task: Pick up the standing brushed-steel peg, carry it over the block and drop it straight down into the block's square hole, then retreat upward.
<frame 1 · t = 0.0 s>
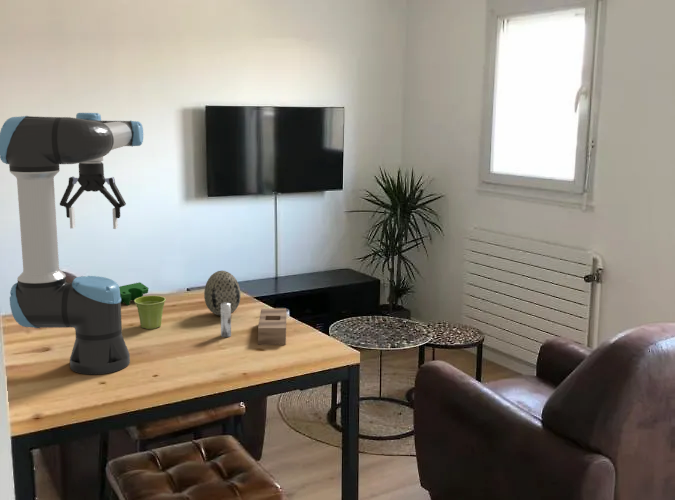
hand: (94, 228, 234), 28 cm above the table, fingers open, 13 cm apart
steel peg: (226, 335, 218), on the table
decorative egg: (222, 315, 239), on the table
plant pot: (151, 327, 226), on the table
clamp: (130, 303, 251), on the table
hole block: (272, 333, 221), on the table
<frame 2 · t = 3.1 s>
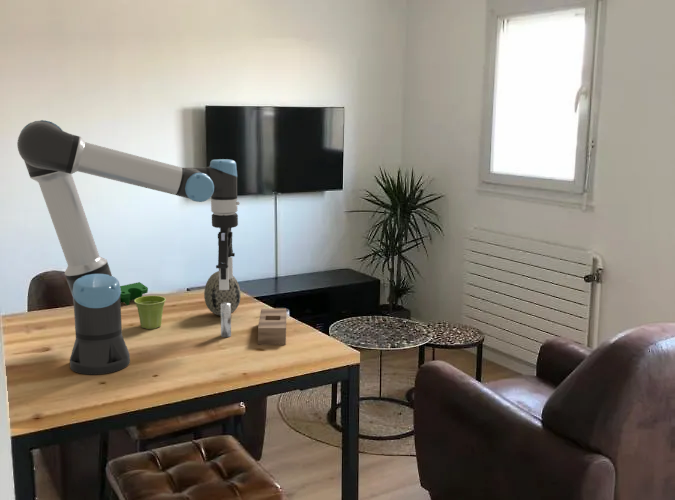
hand: (226, 283, 215), 16 cm above the table, fingers open, 13 cm apart
nothing on the table moved.
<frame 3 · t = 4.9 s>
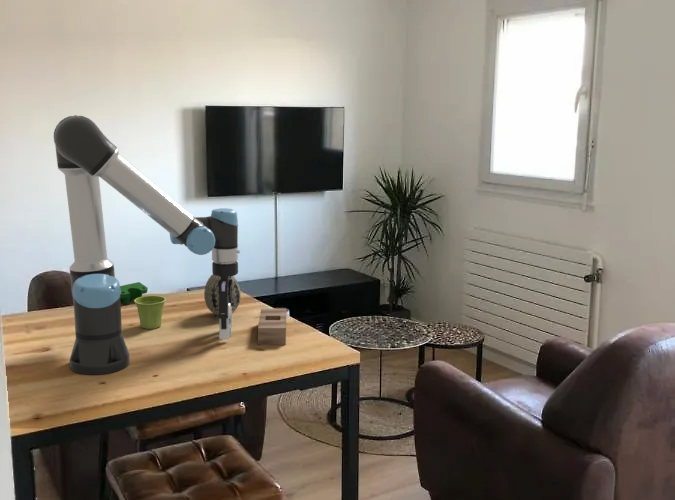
hand: (226, 332, 218), 1 cm above the table, fingers open, 10 cm apart
nothing on the table moved.
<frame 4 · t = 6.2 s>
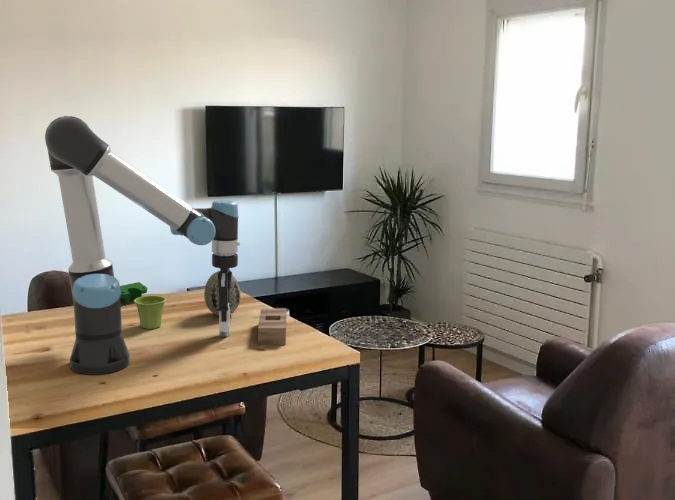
hand: (224, 329, 218), 2 cm above the table, fingers closed on steel peg, 2 cm apart
steel peg: (224, 335, 218), on the table, touching gripper
everything else where it was.
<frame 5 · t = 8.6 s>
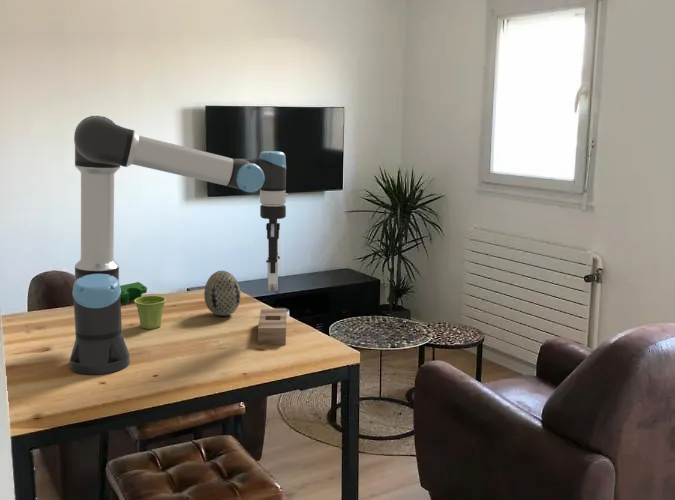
hand: (273, 281, 218), 16 cm above the table, fingers closed on steel peg, 2 cm apart
steel peg: (272, 290, 218), point 14 cm above the table, touching gripper
everything else where it was.
when the fingers open (7 cm above the table, at t = 10.9 s): steel peg drops 4 cm, resting in hole block.
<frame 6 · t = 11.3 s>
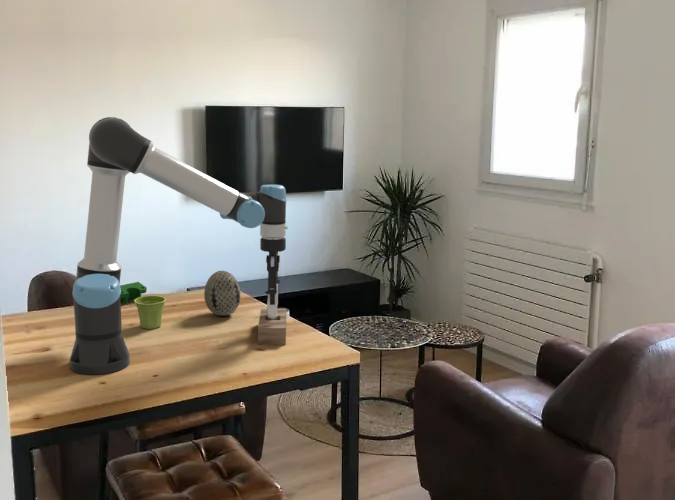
hand: (272, 309, 220), 8 cm above the table, fingers open, 10 cm apart
steel peg: (272, 333, 221), resting in hole block
everything else where it was.
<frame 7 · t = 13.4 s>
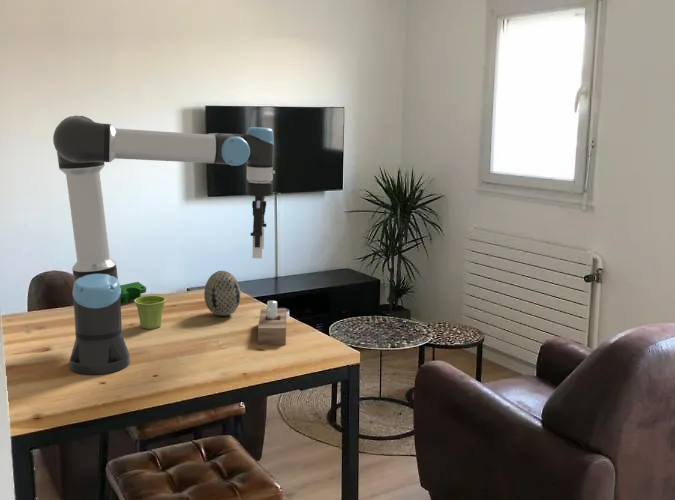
hand: (258, 253, 214), 25 cm above the table, fingers open, 13 cm apart
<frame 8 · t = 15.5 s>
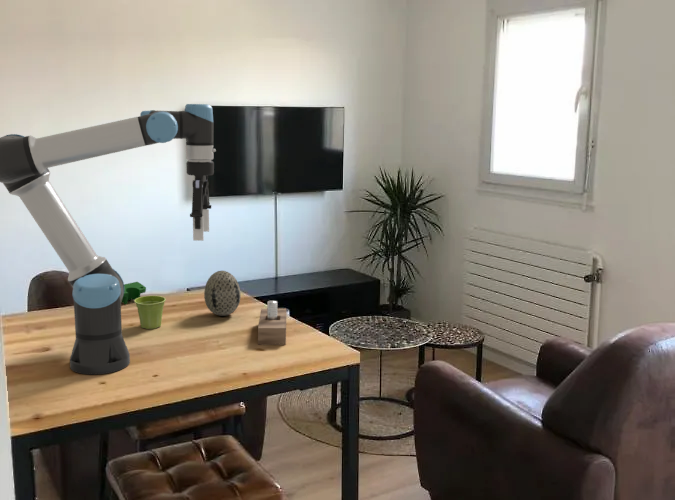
hand: (201, 235, 206), 32 cm above the table, fingers open, 13 cm apart
at the end: steel peg 0.3 cm off-centre on the hole block, point 0.0 cm above the hole block's base; steel peg tilted 0°; the gripper is holding nothing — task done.
